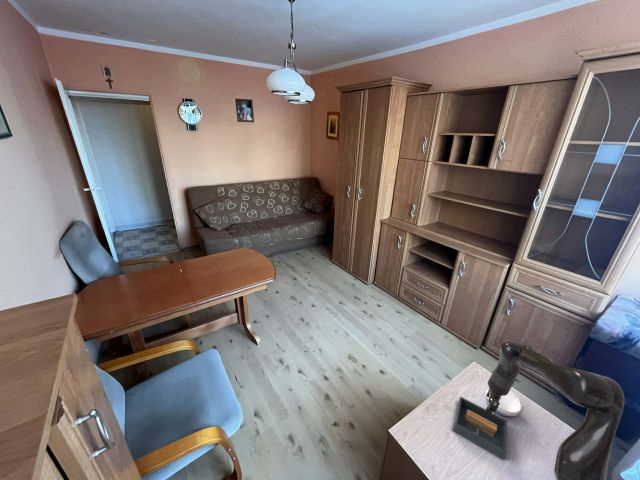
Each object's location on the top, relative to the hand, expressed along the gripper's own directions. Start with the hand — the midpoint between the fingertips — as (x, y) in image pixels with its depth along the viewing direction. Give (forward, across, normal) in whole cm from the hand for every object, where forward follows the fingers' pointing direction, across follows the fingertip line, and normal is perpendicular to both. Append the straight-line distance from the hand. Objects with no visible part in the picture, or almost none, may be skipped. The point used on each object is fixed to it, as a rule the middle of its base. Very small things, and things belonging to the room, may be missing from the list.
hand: (488, 404), depth 116 cm
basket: (+16, -2, 0) cm, 16 cm away
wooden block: (+15, -2, 0) cm, 16 cm away
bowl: (+16, +16, -8) cm, 24 cm away
